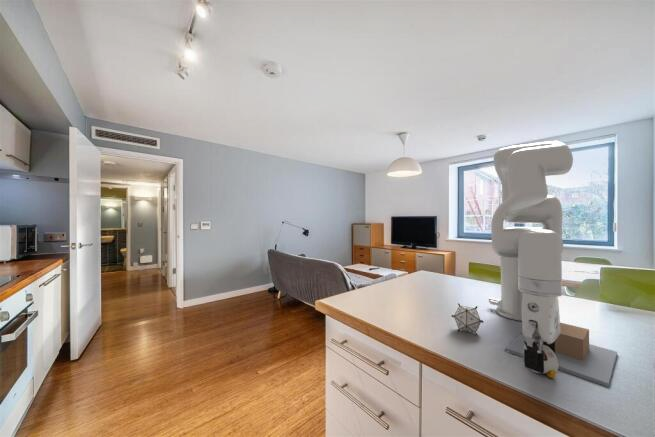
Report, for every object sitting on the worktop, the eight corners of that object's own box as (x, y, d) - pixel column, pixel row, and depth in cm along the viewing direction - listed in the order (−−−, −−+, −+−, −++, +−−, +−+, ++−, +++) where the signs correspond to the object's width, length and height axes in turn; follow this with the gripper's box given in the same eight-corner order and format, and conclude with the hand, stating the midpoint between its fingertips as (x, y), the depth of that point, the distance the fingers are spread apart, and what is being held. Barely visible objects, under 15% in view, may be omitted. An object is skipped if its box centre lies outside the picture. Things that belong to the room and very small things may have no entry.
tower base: (504, 350, 65) (504, 328, 65) (528, 330, 77) (527, 311, 77) (608, 387, 51) (608, 358, 51) (617, 354, 63) (616, 331, 63)
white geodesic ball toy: (470, 347, 74) (468, 328, 69) (446, 327, 81) (443, 308, 76) (491, 329, 76) (491, 309, 71) (466, 311, 83) (464, 291, 78)
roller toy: (542, 364, 59) (542, 340, 59) (563, 381, 53) (563, 354, 53) (521, 362, 60) (521, 338, 60) (540, 379, 53) (539, 352, 53)
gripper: (551, 296, 48) (553, 385, 48) (569, 283, 59) (571, 356, 58) (506, 288, 54) (507, 367, 54) (529, 277, 64) (530, 344, 64)
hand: (540, 362), depth 56 cm, fingers open, 9 cm apart
